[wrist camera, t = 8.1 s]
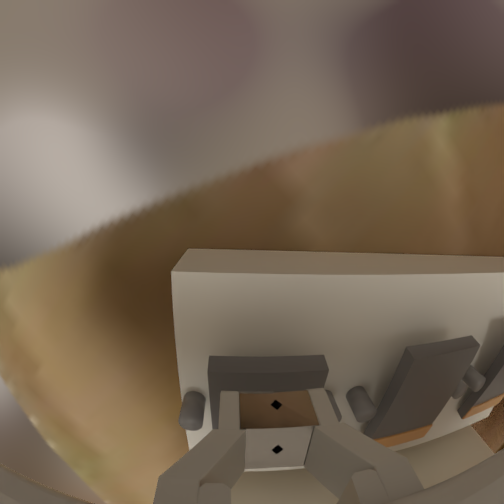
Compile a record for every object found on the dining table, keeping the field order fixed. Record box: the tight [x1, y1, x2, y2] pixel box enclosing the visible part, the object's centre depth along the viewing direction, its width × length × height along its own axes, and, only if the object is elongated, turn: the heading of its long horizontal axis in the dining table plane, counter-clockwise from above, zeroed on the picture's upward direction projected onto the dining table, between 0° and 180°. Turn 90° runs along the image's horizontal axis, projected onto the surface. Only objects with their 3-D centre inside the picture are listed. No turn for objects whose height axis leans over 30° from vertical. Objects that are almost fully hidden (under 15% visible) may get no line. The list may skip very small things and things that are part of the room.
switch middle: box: [363, 335, 481, 447], centre depth 11 cm, size 4×7×1 cm, turn 178°
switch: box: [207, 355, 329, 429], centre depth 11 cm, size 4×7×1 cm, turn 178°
